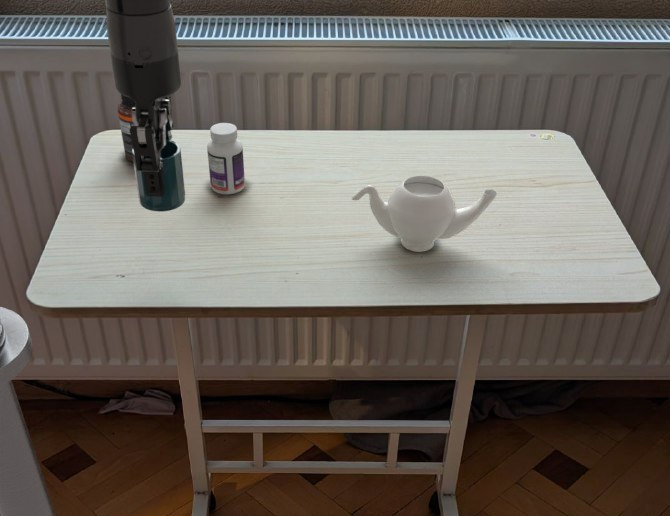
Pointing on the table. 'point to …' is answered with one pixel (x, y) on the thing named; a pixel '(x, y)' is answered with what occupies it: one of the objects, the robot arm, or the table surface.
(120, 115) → the supplement bottle
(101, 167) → the table surface
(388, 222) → the teapot
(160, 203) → the cup
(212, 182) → the pill bottle
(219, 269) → the table surface
